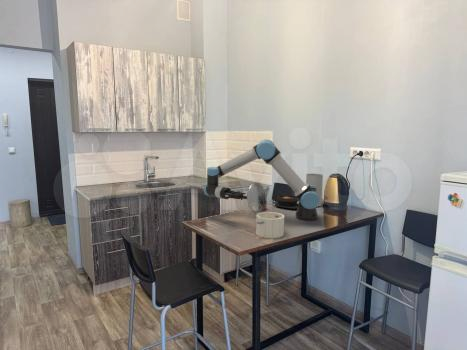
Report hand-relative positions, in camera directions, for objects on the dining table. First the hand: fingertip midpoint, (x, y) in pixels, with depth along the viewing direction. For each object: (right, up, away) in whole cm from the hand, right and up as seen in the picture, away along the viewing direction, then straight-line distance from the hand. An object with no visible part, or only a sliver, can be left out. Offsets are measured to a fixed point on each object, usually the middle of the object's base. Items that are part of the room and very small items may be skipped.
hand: (252, 198), depth 203 cm
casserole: (+31, -11, +60) cm, 68 cm away
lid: (+3, 0, -2) cm, 4 cm away
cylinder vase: (+52, -11, +64) cm, 83 cm away
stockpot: (+10, -21, -5) cm, 24 cm away
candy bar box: (+8, -13, +48) cm, 50 cm away
